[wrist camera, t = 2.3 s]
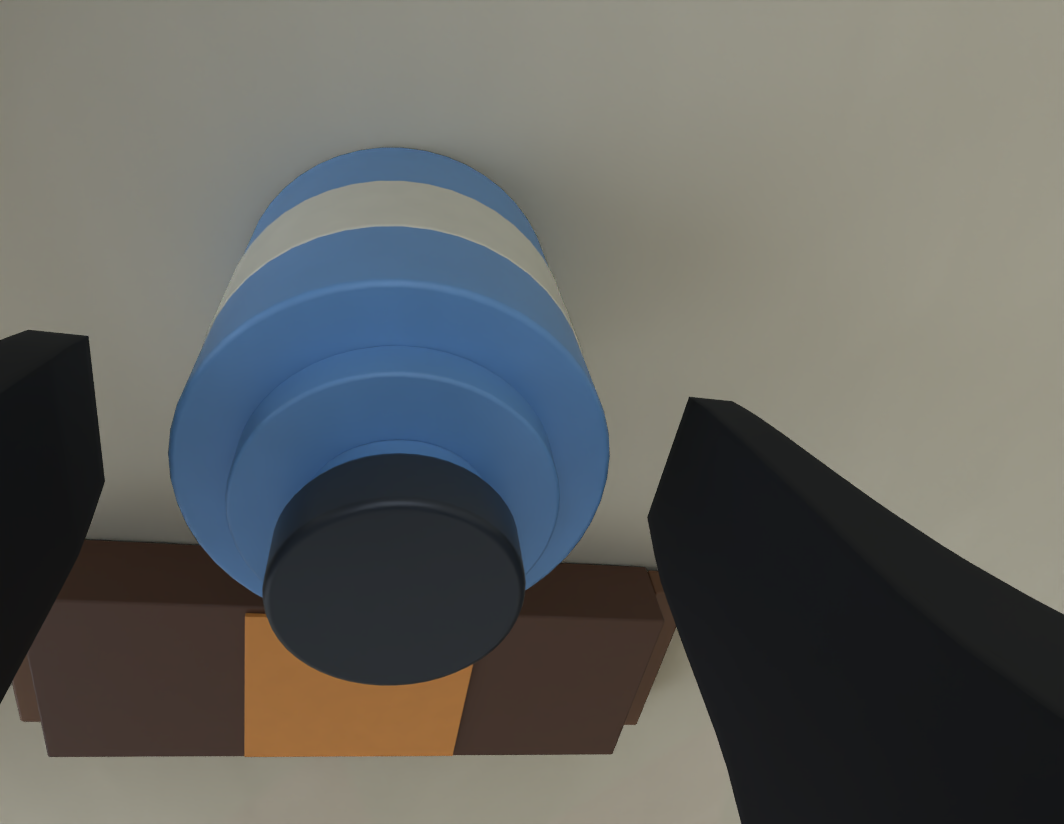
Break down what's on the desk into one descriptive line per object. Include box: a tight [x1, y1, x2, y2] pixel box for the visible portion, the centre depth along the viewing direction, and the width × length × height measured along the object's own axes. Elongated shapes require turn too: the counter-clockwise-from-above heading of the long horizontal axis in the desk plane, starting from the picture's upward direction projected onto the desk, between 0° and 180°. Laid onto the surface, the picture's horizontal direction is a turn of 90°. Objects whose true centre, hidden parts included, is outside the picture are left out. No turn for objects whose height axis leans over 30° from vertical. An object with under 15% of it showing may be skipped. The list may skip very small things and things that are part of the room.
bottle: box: [168, 148, 610, 686], centre depth 10 cm, size 5×5×7 cm
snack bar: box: [12, 540, 676, 757], centre depth 17 cm, size 14×4×2 cm, turn 79°
